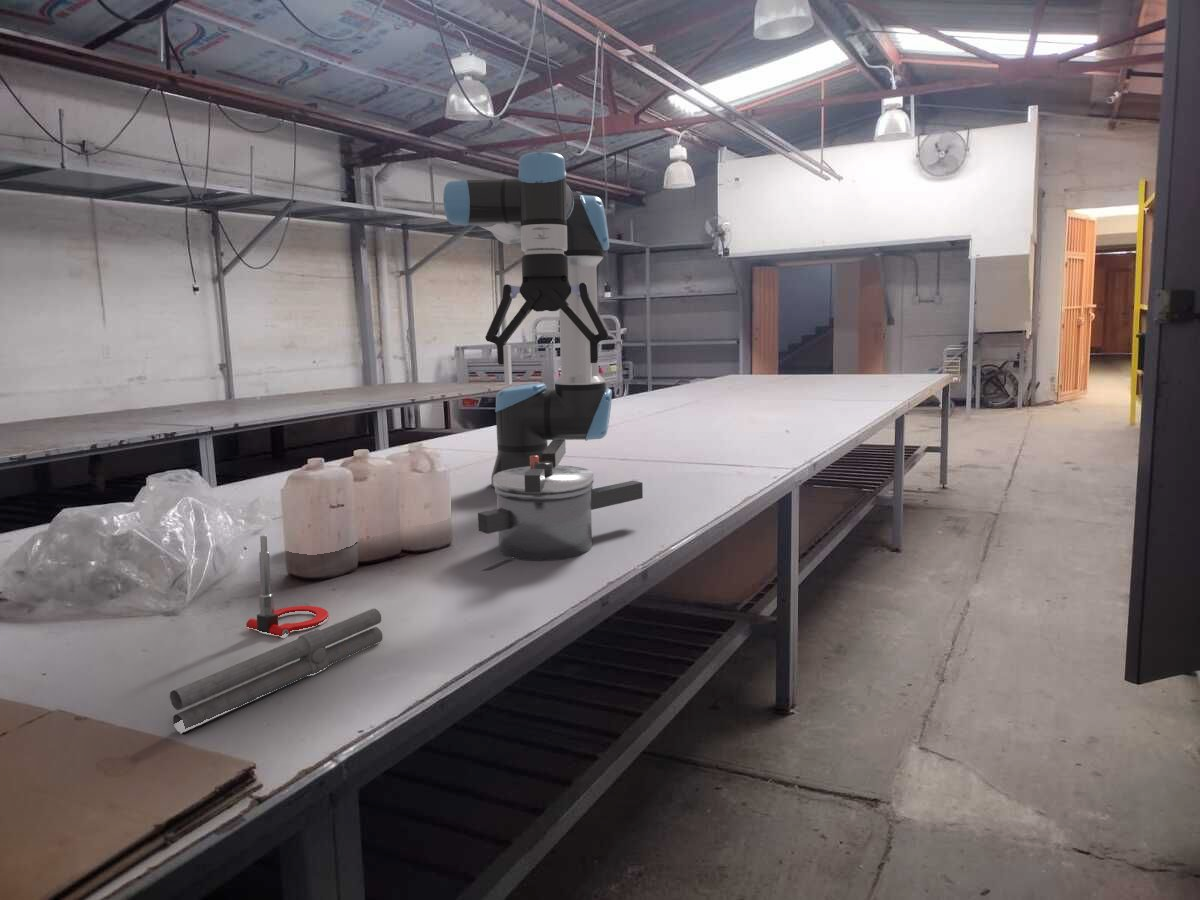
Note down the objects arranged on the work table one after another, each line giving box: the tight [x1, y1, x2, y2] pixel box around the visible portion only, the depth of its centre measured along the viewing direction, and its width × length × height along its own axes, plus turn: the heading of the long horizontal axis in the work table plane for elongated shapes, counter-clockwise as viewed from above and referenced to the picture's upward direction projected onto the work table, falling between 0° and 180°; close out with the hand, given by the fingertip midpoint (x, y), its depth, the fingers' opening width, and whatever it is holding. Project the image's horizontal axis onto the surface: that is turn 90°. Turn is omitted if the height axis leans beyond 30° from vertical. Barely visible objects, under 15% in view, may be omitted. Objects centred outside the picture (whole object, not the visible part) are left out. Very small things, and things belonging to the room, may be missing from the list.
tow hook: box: [245, 535, 329, 636], centre depth 106 cm, size 8×13×9 cm
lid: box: [493, 439, 595, 494], centre depth 142 cm, size 35×17×4 cm, turn 176°
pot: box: [477, 480, 644, 562], centre depth 141 cm, size 26×26×11 cm
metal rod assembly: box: [169, 608, 384, 729], centre depth 89 cm, size 26×3×5 cm, turn 147°
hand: (548, 384), depth 135 cm, fingers open, 13 cm apart
